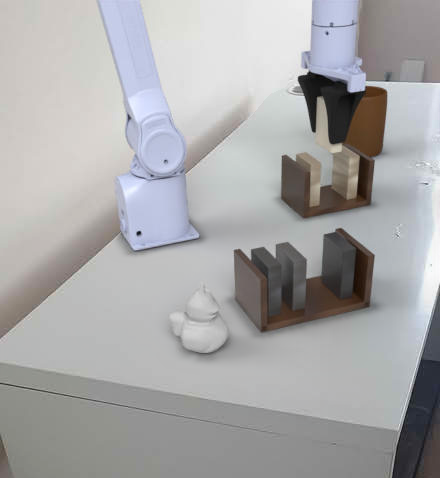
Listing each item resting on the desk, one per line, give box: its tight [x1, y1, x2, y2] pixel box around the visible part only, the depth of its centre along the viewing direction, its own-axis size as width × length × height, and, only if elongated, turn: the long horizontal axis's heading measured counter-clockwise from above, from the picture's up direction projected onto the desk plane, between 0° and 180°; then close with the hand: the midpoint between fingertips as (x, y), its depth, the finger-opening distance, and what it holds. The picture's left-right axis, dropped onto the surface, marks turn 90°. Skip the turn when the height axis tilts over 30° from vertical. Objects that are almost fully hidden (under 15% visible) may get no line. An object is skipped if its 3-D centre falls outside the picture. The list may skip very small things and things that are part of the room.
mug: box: [342, 85, 388, 158], centre depth 119 cm, size 12×8×9 cm, turn 75°
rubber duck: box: [168, 281, 230, 354], centre depth 75 cm, size 5×7×8 cm
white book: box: [314, 96, 342, 154], centre depth 97 cm, size 2×5×6 cm, turn 20°
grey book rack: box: [233, 227, 376, 333], centre depth 82 cm, size 14×8×7 cm, turn 110°
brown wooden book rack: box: [280, 144, 376, 219], centre depth 104 cm, size 11×8×7 cm
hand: (328, 136), depth 99 cm, fingers closed on white book, 5 cm apart
